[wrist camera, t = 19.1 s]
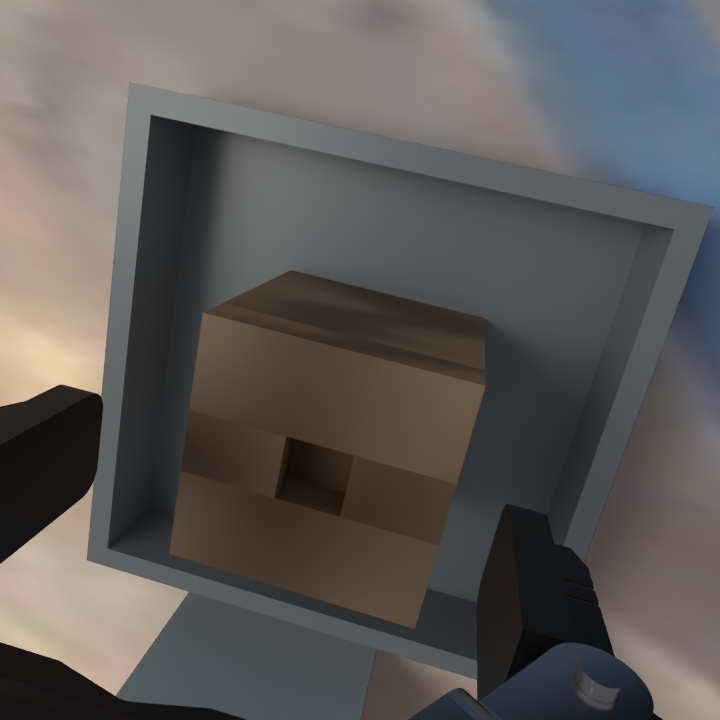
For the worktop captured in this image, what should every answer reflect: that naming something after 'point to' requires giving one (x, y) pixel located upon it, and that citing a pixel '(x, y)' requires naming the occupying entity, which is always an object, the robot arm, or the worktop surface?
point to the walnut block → (328, 440)
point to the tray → (395, 277)
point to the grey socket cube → (250, 666)
